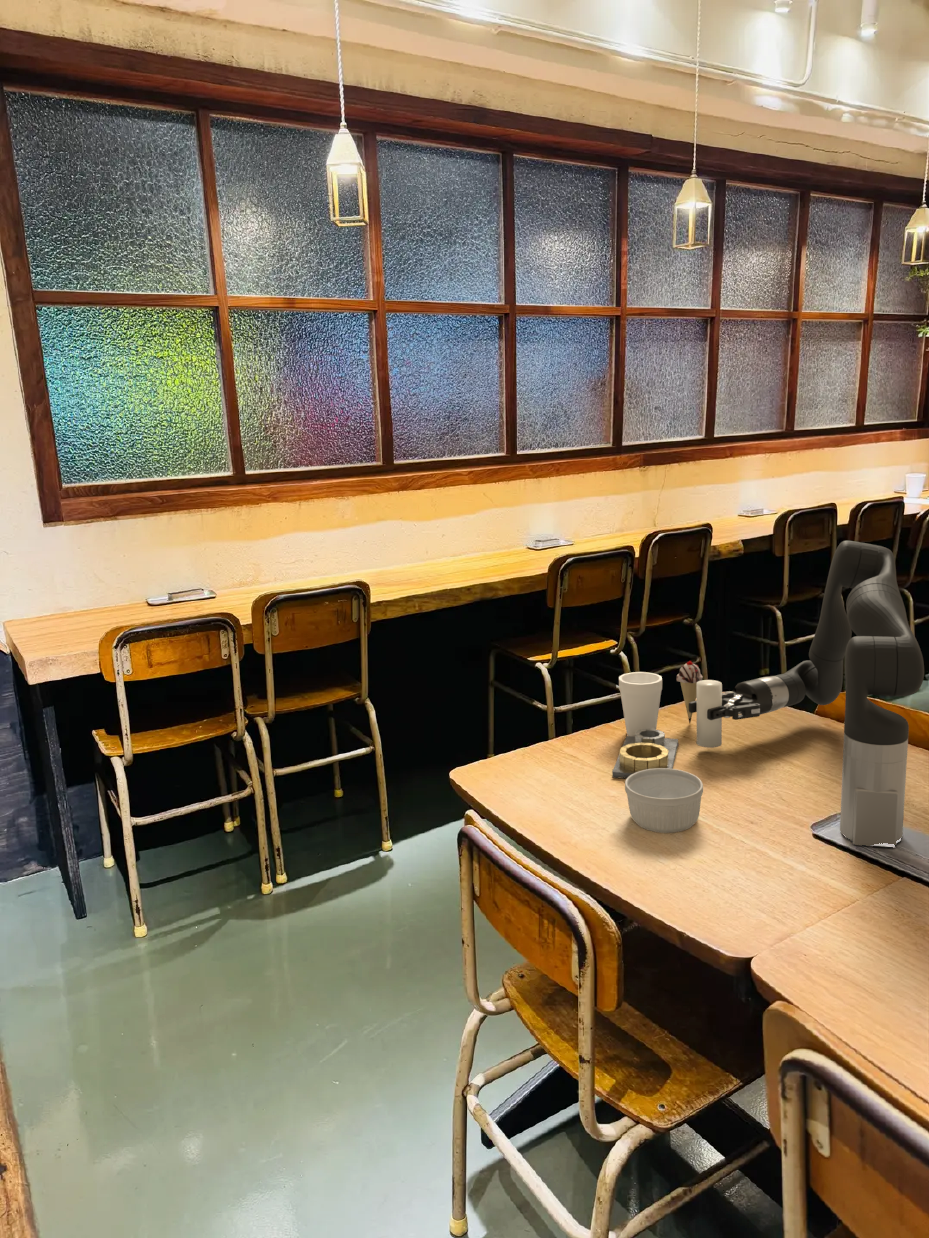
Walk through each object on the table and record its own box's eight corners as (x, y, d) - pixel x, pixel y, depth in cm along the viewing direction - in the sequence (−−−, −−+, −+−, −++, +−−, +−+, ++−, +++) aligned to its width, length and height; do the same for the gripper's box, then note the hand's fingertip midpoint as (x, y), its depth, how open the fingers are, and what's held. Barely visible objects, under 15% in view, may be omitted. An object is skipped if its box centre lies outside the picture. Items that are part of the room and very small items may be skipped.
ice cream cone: (671, 722, 194) (671, 660, 191) (691, 718, 196) (691, 656, 193) (688, 730, 189) (687, 665, 185) (708, 725, 191) (708, 661, 188)
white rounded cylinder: (721, 748, 172) (721, 687, 170) (695, 746, 174) (695, 686, 171) (721, 739, 177) (722, 680, 174) (697, 738, 179) (697, 679, 176)
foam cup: (631, 724, 195) (630, 670, 192) (669, 730, 189) (668, 674, 186) (612, 737, 187) (611, 681, 184) (651, 744, 182) (651, 686, 179)
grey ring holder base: (669, 781, 163) (669, 763, 162) (612, 777, 166) (612, 759, 165) (678, 744, 181) (678, 727, 180) (626, 741, 185) (626, 725, 184)
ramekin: (618, 831, 144) (617, 794, 143) (633, 799, 156) (632, 764, 155) (698, 841, 139) (698, 802, 138) (707, 807, 151) (707, 771, 150)
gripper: (736, 671, 185) (675, 685, 178) (787, 686, 173) (724, 702, 166) (736, 704, 187) (675, 719, 180) (786, 721, 174) (723, 738, 167)
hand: (699, 711), depth 173 cm, fingers closed on white rounded cylinder, 5 cm apart
